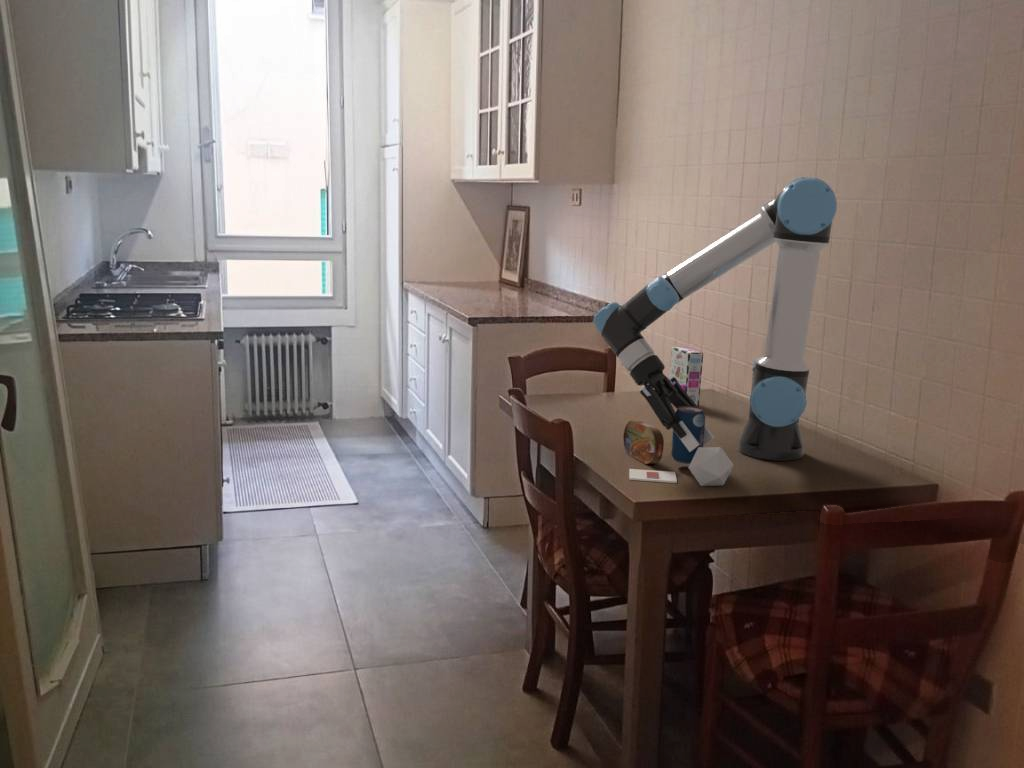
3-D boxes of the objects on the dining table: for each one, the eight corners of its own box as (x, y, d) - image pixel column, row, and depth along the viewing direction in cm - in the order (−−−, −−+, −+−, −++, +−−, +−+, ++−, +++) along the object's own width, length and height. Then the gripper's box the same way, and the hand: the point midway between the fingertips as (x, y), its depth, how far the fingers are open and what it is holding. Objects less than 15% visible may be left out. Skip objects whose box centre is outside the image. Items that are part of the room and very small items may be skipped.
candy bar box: (699, 408, 276) (704, 352, 272) (684, 409, 274) (688, 352, 271) (681, 400, 286) (686, 346, 283) (666, 400, 285) (670, 346, 281)
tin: (621, 451, 228) (623, 416, 226) (633, 450, 229) (635, 416, 228) (652, 469, 214) (654, 432, 213) (664, 468, 215) (667, 431, 214)
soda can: (707, 464, 213) (711, 411, 211) (678, 465, 212) (681, 412, 209) (694, 455, 220) (698, 404, 218) (666, 456, 218) (669, 405, 216)
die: (725, 495, 200) (745, 455, 202) (691, 474, 199) (711, 434, 201) (710, 497, 208) (729, 458, 210) (676, 476, 207) (696, 438, 209)
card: (675, 473, 211) (675, 471, 211) (676, 483, 204) (676, 480, 204) (629, 470, 212) (629, 468, 212) (629, 479, 205) (629, 477, 205)
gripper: (651, 367, 229) (709, 445, 223) (609, 379, 213) (669, 463, 207) (673, 348, 225) (732, 427, 219) (631, 358, 209) (694, 444, 203)
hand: (702, 444), depth 213 cm, fingers closed on soda can, 7 cm apart
